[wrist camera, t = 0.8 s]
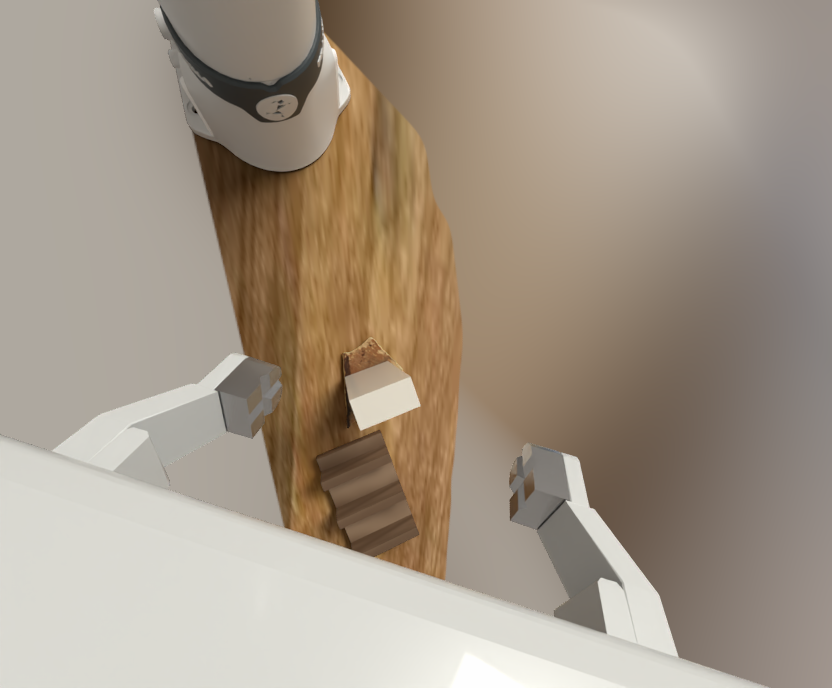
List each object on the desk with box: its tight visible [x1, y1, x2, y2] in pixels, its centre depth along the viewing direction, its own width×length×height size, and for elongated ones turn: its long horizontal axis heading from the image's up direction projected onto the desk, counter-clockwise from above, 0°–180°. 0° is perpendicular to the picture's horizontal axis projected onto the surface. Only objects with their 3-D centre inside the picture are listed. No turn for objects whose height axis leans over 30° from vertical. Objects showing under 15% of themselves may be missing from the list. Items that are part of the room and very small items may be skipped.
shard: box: [342, 337, 403, 428], centre depth 46 cm, size 11×8×2 cm
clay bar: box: [345, 361, 420, 431], centre depth 38 cm, size 3×6×14 cm, turn 108°
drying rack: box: [316, 430, 419, 557], centre depth 46 cm, size 16×9×4 cm, turn 19°
